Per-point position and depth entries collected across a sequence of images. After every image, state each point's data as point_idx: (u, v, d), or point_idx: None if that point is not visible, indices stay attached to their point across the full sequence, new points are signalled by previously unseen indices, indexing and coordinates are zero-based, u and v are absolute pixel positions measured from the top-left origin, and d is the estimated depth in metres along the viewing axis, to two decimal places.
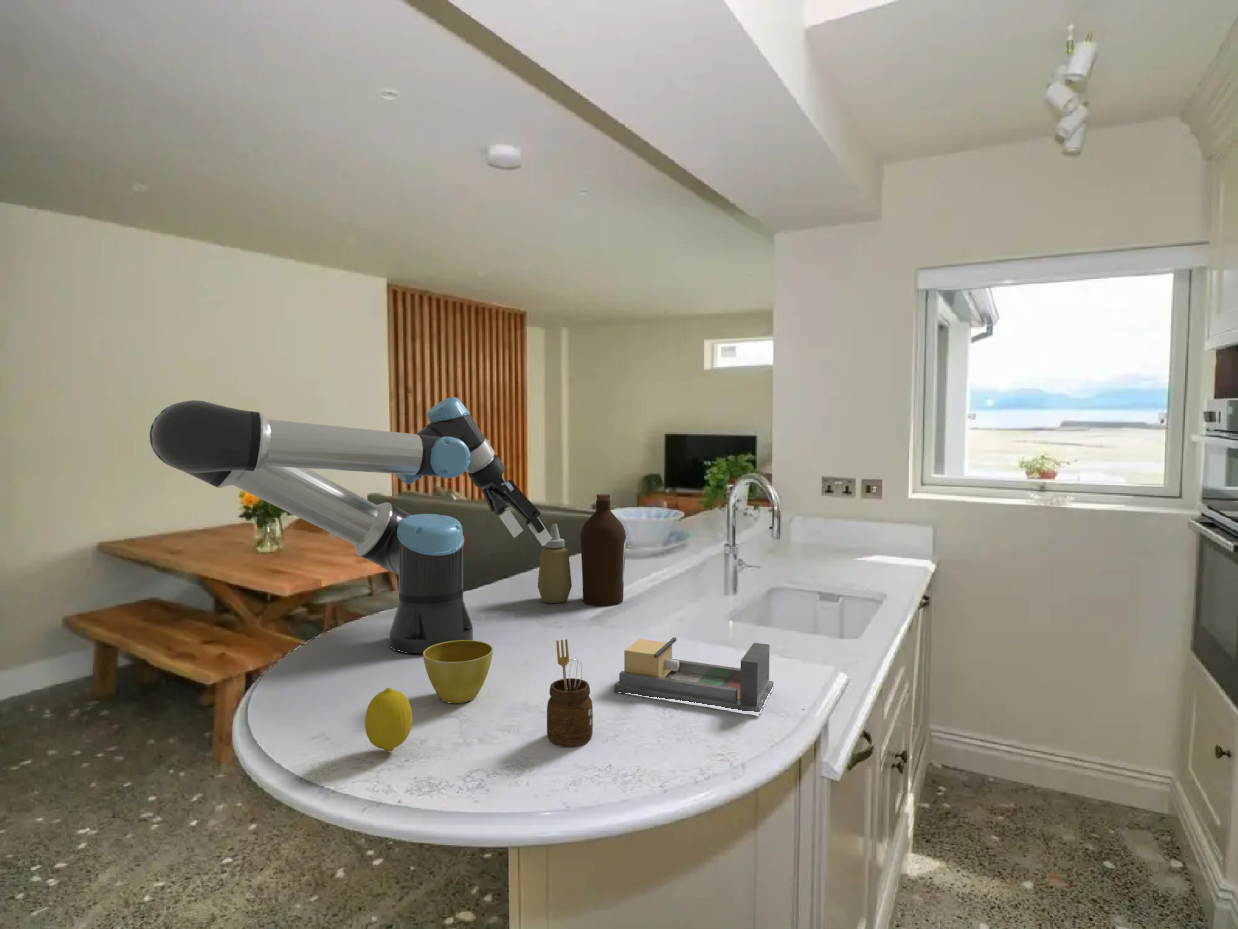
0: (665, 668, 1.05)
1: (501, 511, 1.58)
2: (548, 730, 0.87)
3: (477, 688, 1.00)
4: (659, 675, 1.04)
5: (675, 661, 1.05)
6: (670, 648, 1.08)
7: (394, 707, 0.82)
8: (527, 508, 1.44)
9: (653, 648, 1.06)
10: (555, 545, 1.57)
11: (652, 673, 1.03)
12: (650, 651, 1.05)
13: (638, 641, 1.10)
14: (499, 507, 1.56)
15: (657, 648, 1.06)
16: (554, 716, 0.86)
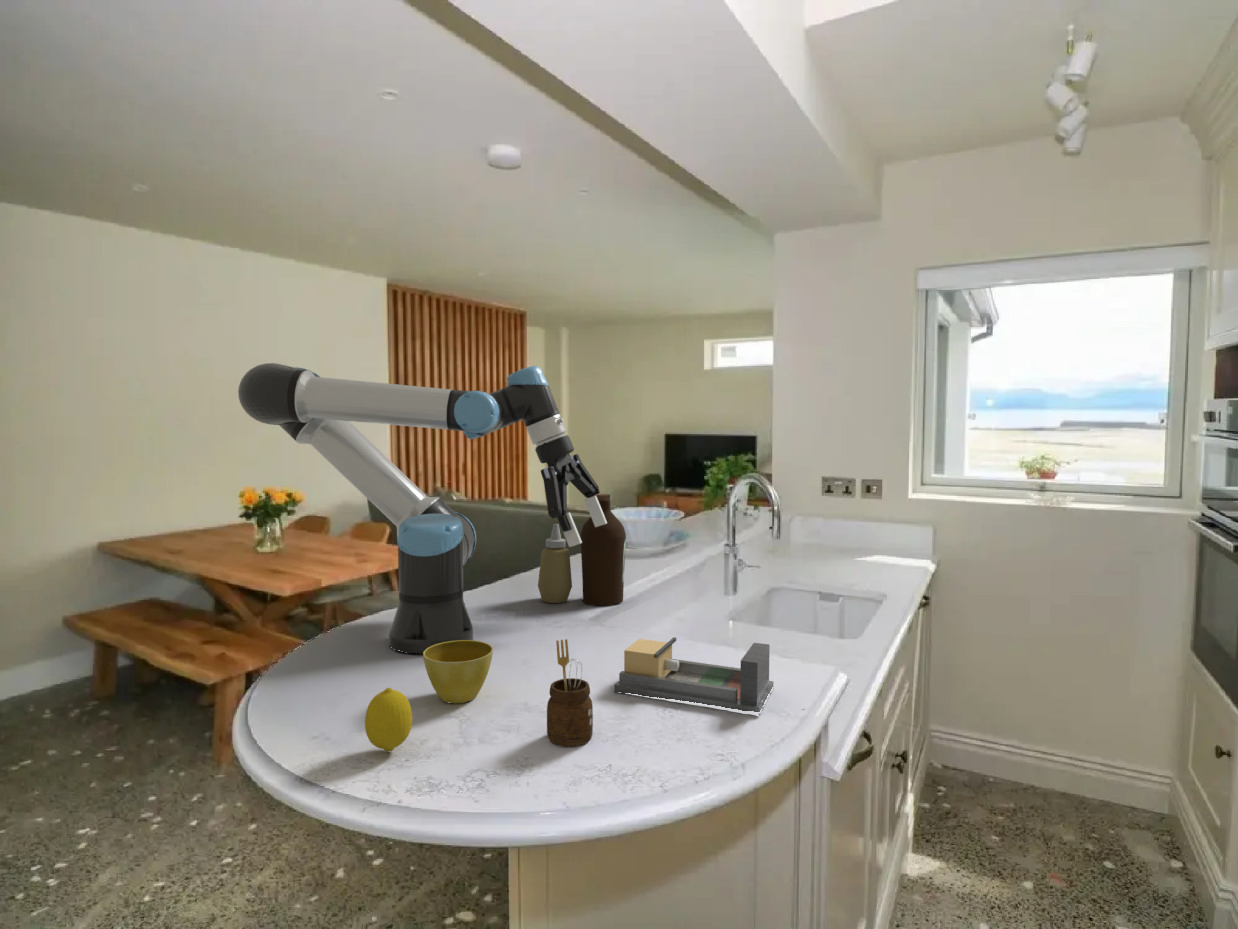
0: (665, 668, 1.05)
1: (589, 495, 1.48)
2: (548, 730, 0.87)
3: (477, 688, 1.00)
4: (659, 675, 1.04)
5: (675, 661, 1.05)
6: (670, 648, 1.08)
7: (394, 707, 0.82)
8: (550, 501, 1.33)
9: (653, 648, 1.06)
10: (556, 545, 1.56)
11: (652, 673, 1.03)
12: (650, 651, 1.05)
13: (638, 641, 1.10)
14: (583, 490, 1.47)
15: (657, 648, 1.06)
16: (554, 716, 0.86)
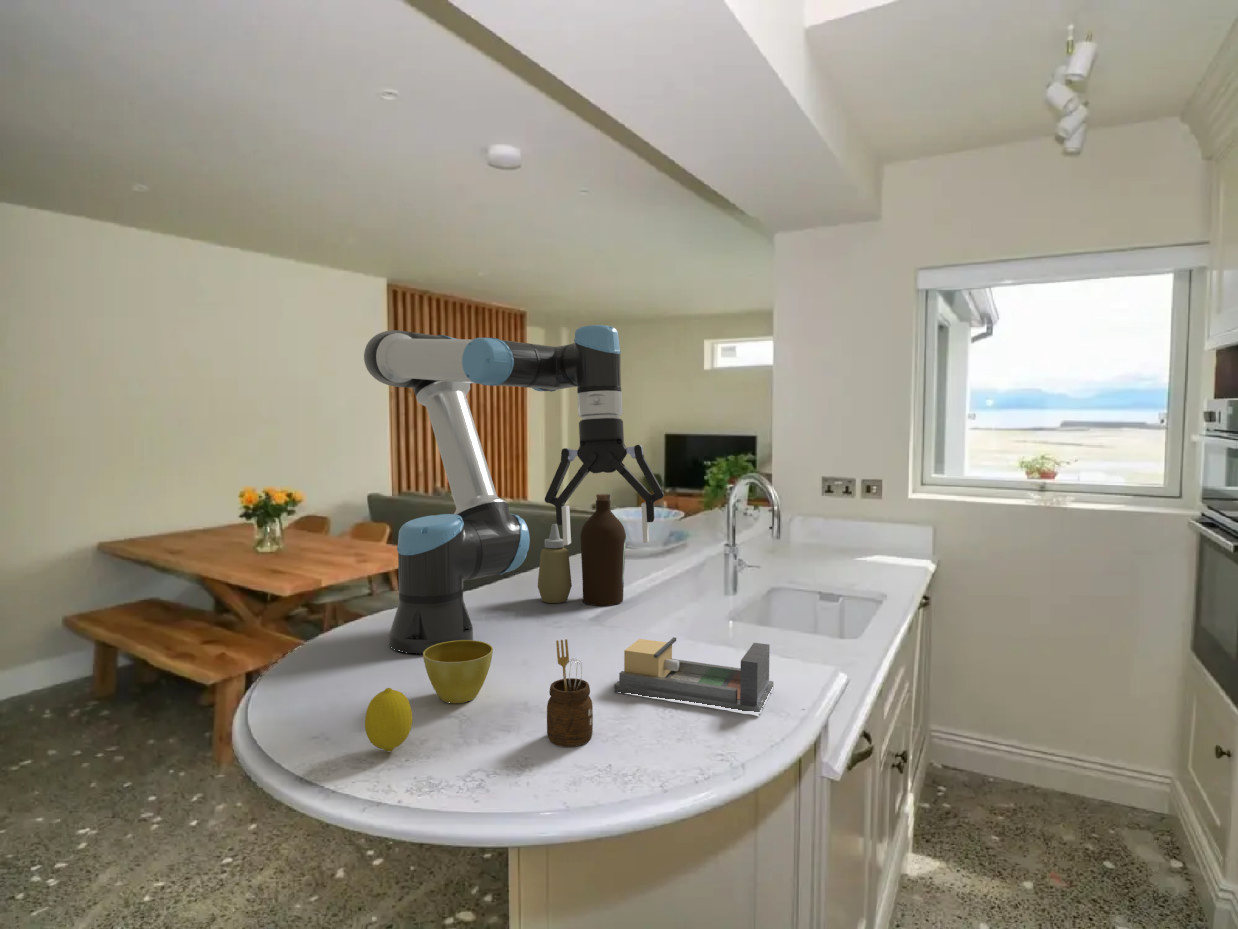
0: (665, 668, 1.05)
1: None
2: (548, 730, 0.87)
3: (477, 688, 1.00)
4: (659, 675, 1.04)
5: (675, 661, 1.05)
6: (670, 648, 1.08)
7: (394, 707, 0.82)
8: None
9: (653, 648, 1.06)
10: (555, 545, 1.57)
11: (652, 673, 1.03)
12: (650, 651, 1.05)
13: (638, 641, 1.10)
14: None
15: (657, 648, 1.06)
16: (554, 716, 0.86)
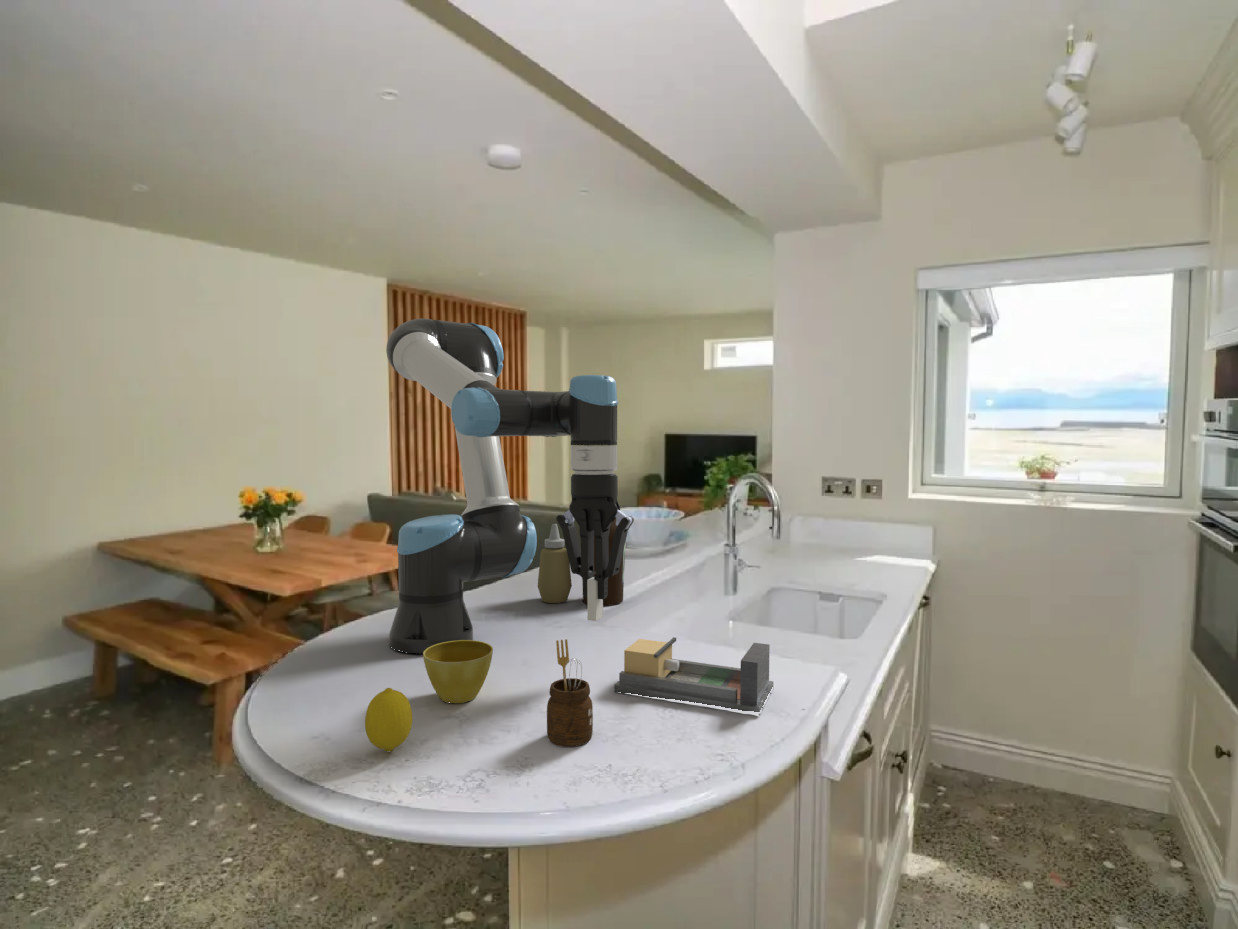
0: (665, 668, 1.05)
1: None
2: (548, 730, 0.87)
3: (477, 688, 1.00)
4: (659, 675, 1.04)
5: (675, 661, 1.05)
6: (670, 648, 1.08)
7: (394, 707, 0.82)
8: None
9: (653, 648, 1.06)
10: (555, 545, 1.57)
11: (652, 673, 1.03)
12: (650, 651, 1.05)
13: (638, 641, 1.10)
14: None
15: (657, 648, 1.06)
16: (554, 716, 0.86)
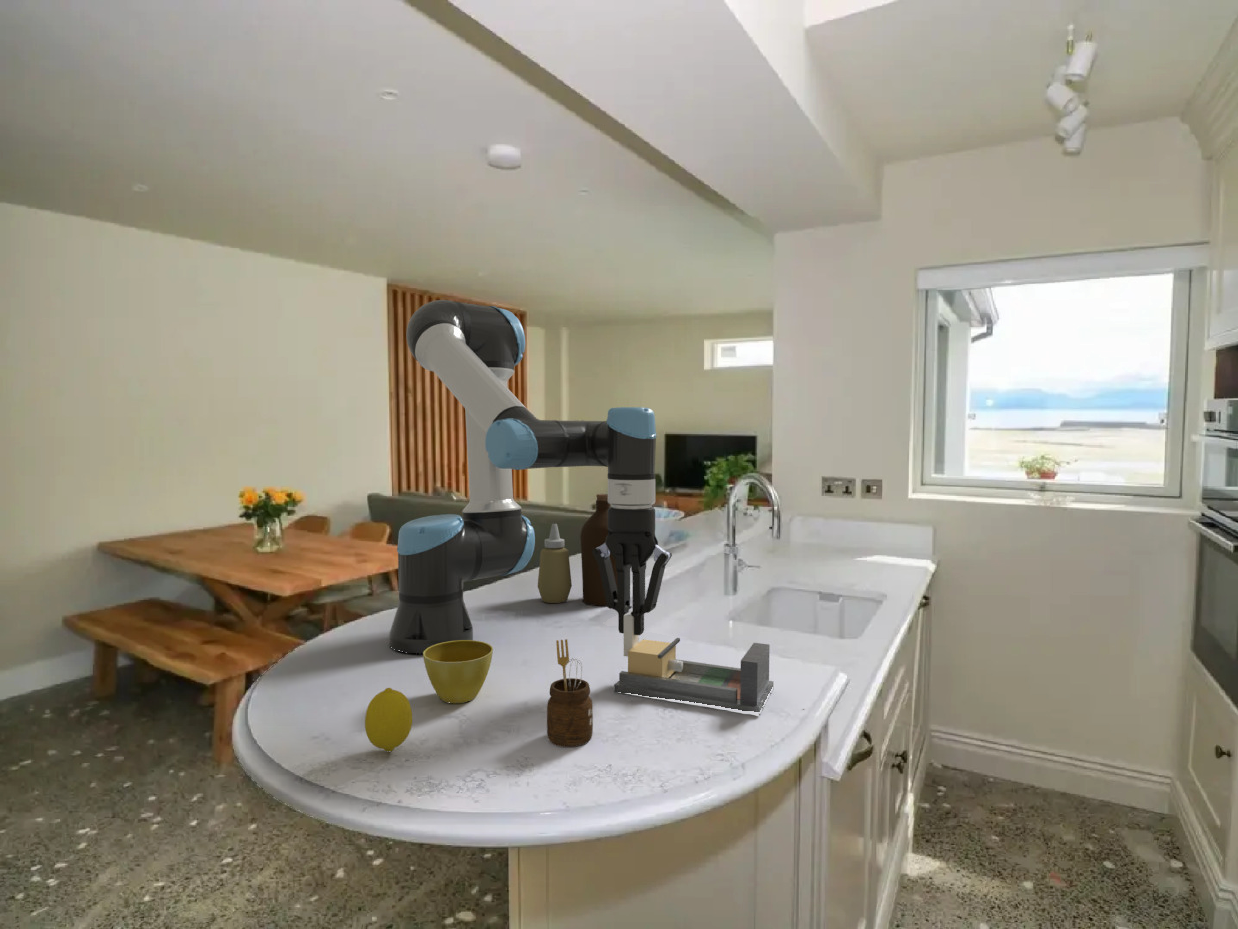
0: (669, 669, 1.05)
1: None
2: (548, 730, 0.87)
3: (477, 688, 1.00)
4: (663, 676, 1.03)
5: (679, 662, 1.05)
6: (674, 648, 1.08)
7: (394, 707, 0.82)
8: None
9: (656, 648, 1.06)
10: (555, 545, 1.57)
11: (656, 674, 1.03)
12: (654, 651, 1.05)
13: (642, 641, 1.09)
14: None
15: (661, 649, 1.06)
16: (554, 716, 0.86)
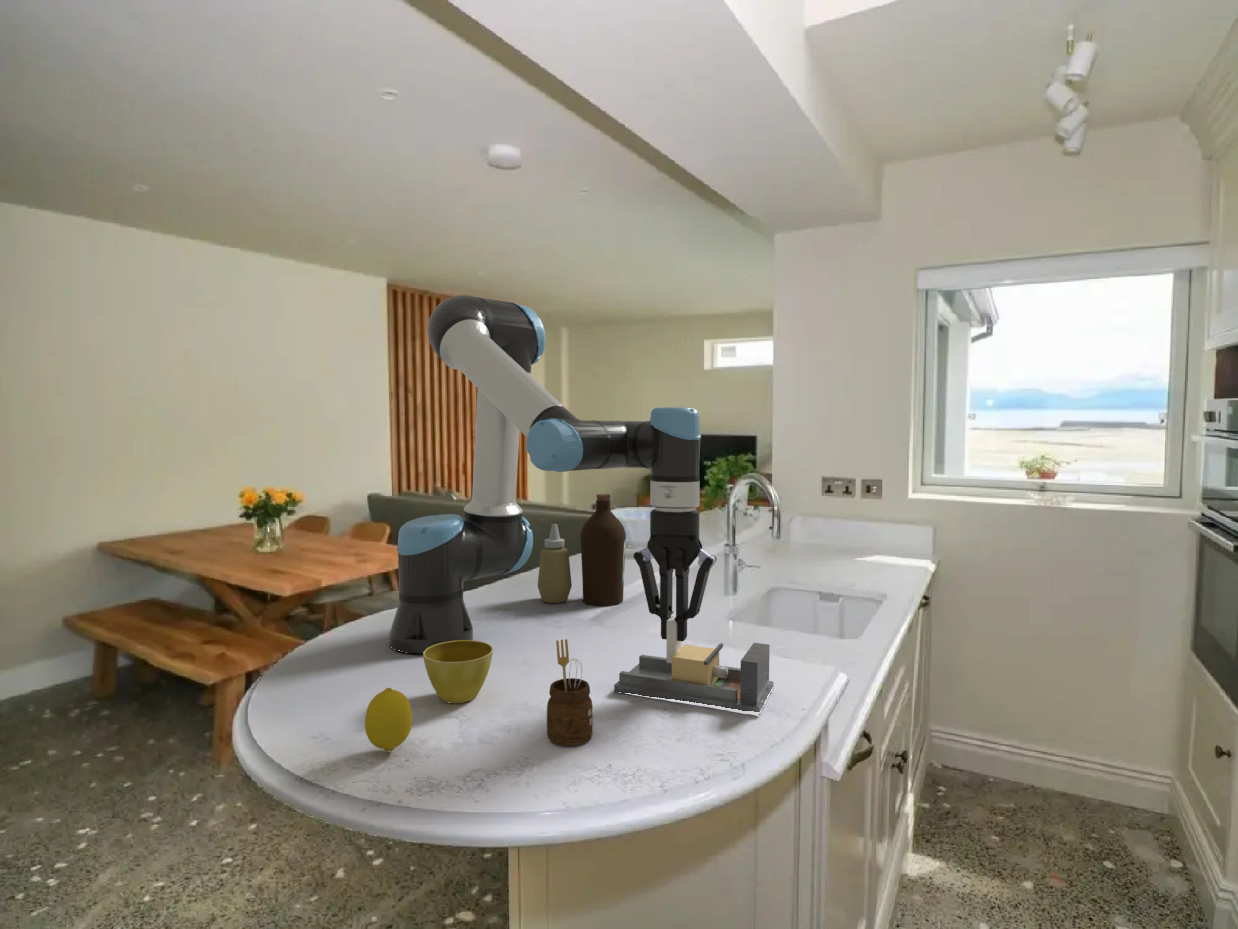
0: (714, 675, 1.02)
1: None
2: (548, 730, 0.87)
3: (477, 688, 1.00)
4: (708, 682, 1.01)
5: (724, 668, 1.02)
6: (717, 654, 1.05)
7: (394, 707, 0.82)
8: None
9: (701, 654, 1.03)
10: (555, 545, 1.57)
11: (702, 680, 1.00)
12: (699, 657, 1.02)
13: (684, 647, 1.07)
14: None
15: (705, 654, 1.03)
16: (554, 716, 0.86)
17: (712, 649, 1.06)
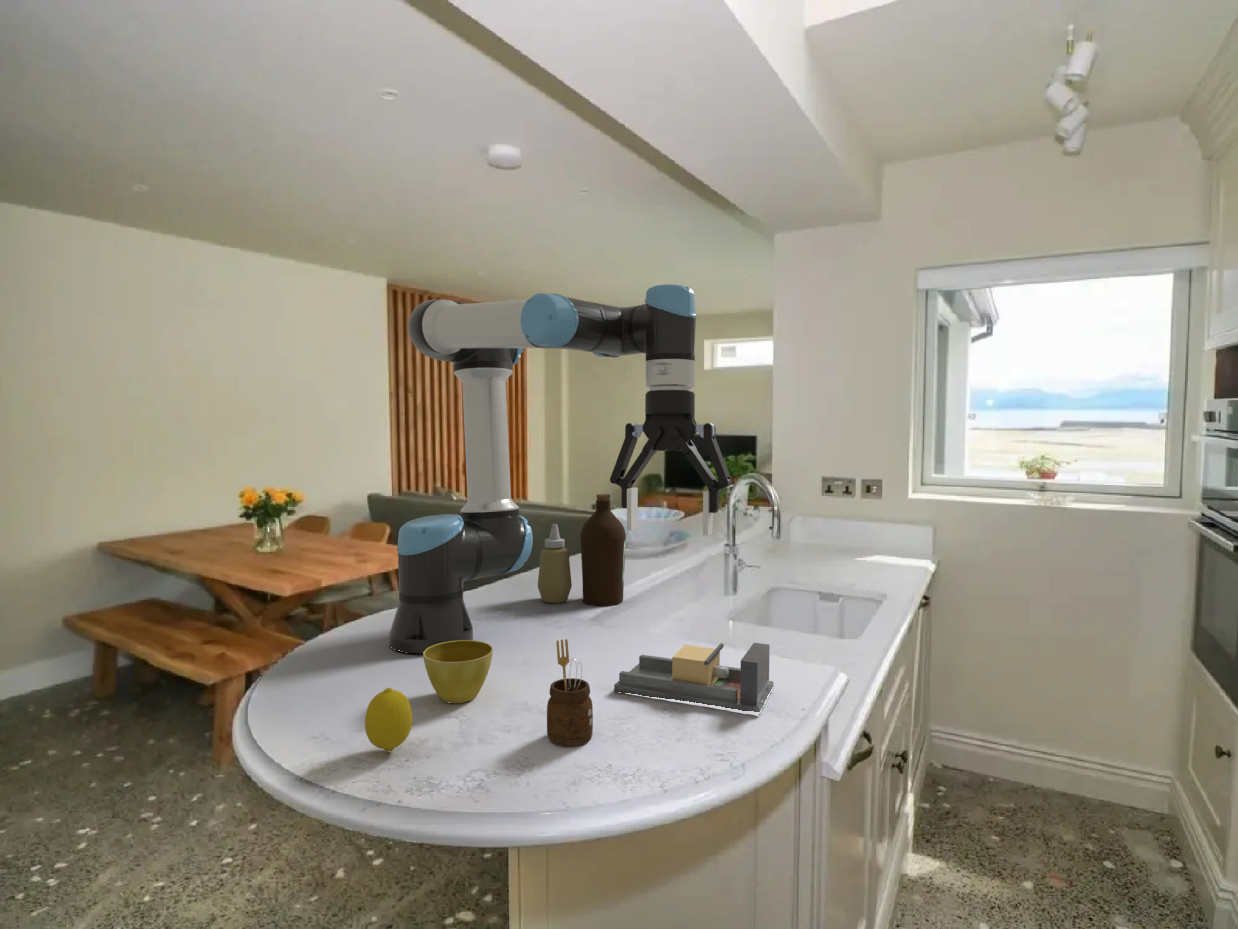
0: (714, 675, 1.02)
1: None
2: (548, 730, 0.87)
3: (477, 688, 1.00)
4: (709, 683, 1.01)
5: (725, 668, 1.02)
6: (718, 654, 1.05)
7: (394, 707, 0.82)
8: None
9: (701, 654, 1.03)
10: (555, 545, 1.57)
11: (702, 680, 1.00)
12: (699, 658, 1.02)
13: (684, 647, 1.07)
14: None
15: (706, 655, 1.03)
16: (554, 716, 0.86)
17: (712, 649, 1.06)
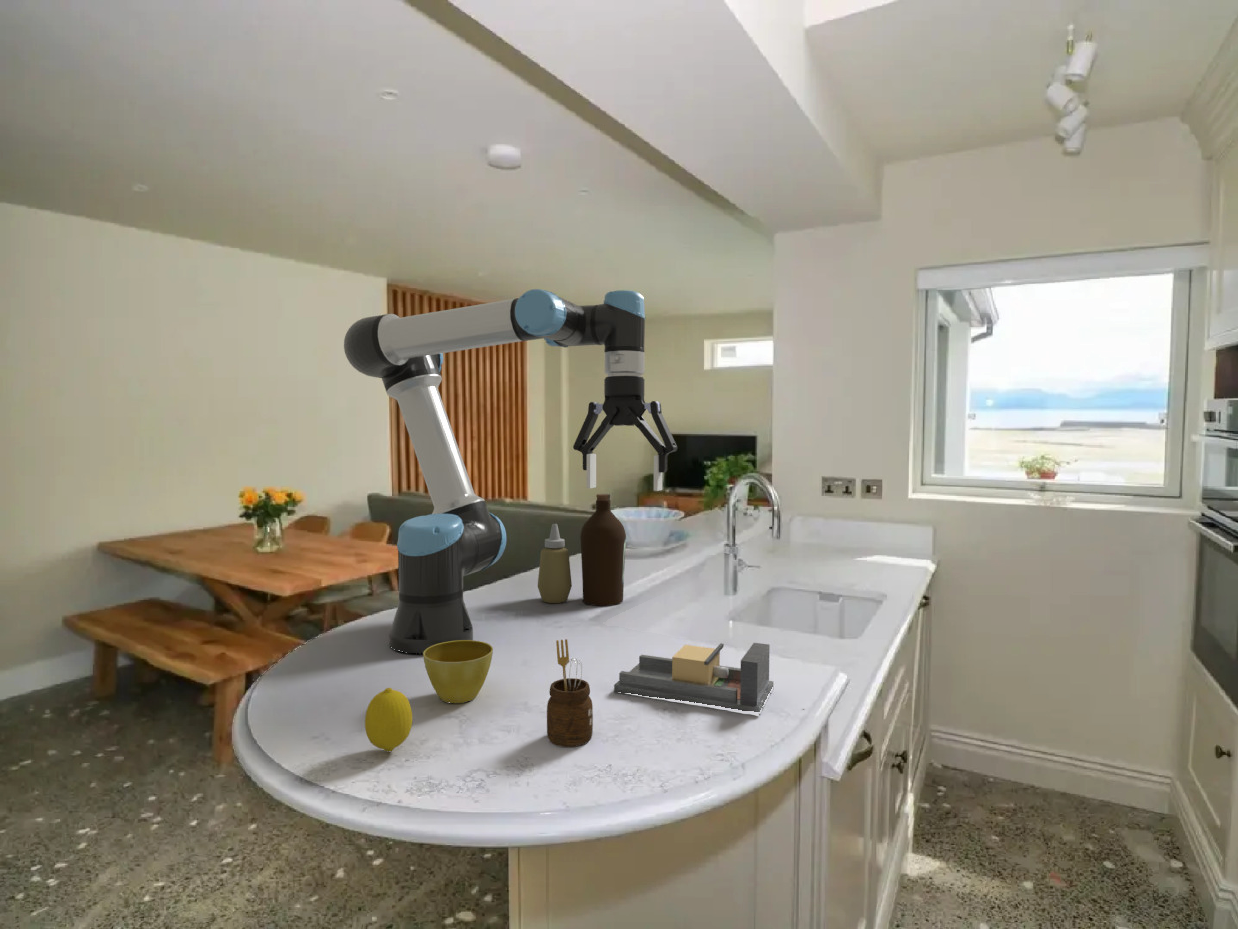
0: (714, 675, 1.02)
1: None
2: (548, 730, 0.87)
3: (477, 688, 1.00)
4: (709, 683, 1.01)
5: (725, 668, 1.02)
6: (718, 654, 1.05)
7: (394, 707, 0.82)
8: None
9: (701, 654, 1.03)
10: (555, 545, 1.57)
11: (702, 680, 1.00)
12: (699, 658, 1.02)
13: (684, 647, 1.07)
14: None
15: (706, 655, 1.03)
16: (554, 716, 0.86)
17: (712, 649, 1.06)
